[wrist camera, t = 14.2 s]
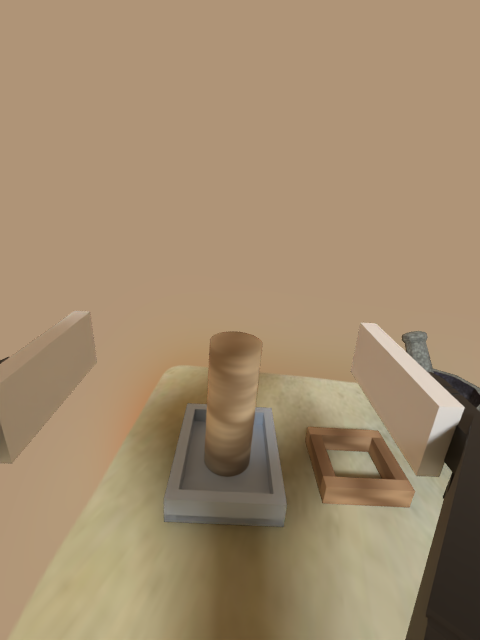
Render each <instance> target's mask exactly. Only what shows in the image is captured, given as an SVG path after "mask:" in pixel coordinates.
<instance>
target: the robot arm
mask: <svg viewBox="0 0 480 640" xmlns="http://www.w3.org/2000/svg"><path fill="white" fill-rule="evenodd" d="M96 362H97V359H96V352H95V344H94V337H93V329H92V322H91V314H90V312H89V311H87V312H86V311H73V312H72V313H70V314H69V315H68V316H66V317H65V318H63V319H62V320H61V321H59V322H58V323H57V324H55V325H54V326H53V327H51V328H50V329H48V330H47V331H45V332H44V333H43V334H41V335H40V336H38V337H37V338H36V339H34V340H33V341H32V342H30V343H29V344H27V345H26V346H25V347H23V348H22V349H20V350H19V351H18V352H16V353H15V354H13V355H12V356H11V357H7V358H5V359H3V360H0V463H13V462H14V461H15V459H16V458H17V457H18V456H19V455H20V453H21V452H22V451H23V450H24V449H25V447H26V446H27V445H28V444H29V443H30V441H31V440H32V439H33V438H34V437H35V435H36V434H37V433H38V432H39V430H41V428H42V427H43V426H44V425H45V423H46V422H47V421H48V420H49V419H50V418H51V416H52V415H53V414H54V412H56V410H57V409H58V408H59V407H60V406H61V404H62V403H63V402H64V401H65V400H66V398H67V397H68V396H69V395H70V394H71V392H72V391H73V390H74V389H75V388H76V386H77V385H78V384H79V383H80V382H81V380H82V379H83V378H84V377H85V376H86V374H87V373H88V372H89V371H90V370H91V368H92V367H93V366H94V365H95V364H96ZM351 373H352V375H353V376H354V378H355V379H356V381H357V382H358V384H359V386H360V387H361V389H362V390H363V392H364V394H365V395H366V397H367V398H368V400H369V402H370V403H371V405H372V406H373V408H374V409H375V411H376V413H377V414H378V416H379V417H380V419H381V421H382V422H383V424H384V425H385V427H386V428H387V430H388V432H389V433H390V435H391V436H392V438H393V440H394V441H395V443H396V444H397V446H398V448H399V449H400V451H401V452H402V454H403V455H404V457H405V459H406V460H407V462H408V463H409V465H410V467H411V468H412V470H413V471H414V473H415V475H416V476H433V477H439V476H440V473H441V471H442V468H443V465H444V463H446V464H447V466H448V467H449V468H450V469H451V471H452V474H451V477H450V480H449V482H448V485H447V487H446V490H445V493H444V495H443V498H444V501H443V505H442V508H441V512H440V516H439V519H438V523H437V527H436V530H435V534H434V537H433V541H432V545H431V548H430V552H429V556H428V559H427V563H426V566H425V570H424V574H423V577H422V581H421V585H420V588H419V592H418V596H417V599H416V603H415V606H414V610H413V614H412V617H411V621H410V625H409V628H408V632H407V635H406V639H405V640H480V411H479V410H478V409H477V408H476V407H474V406H473V405H472V404H471V403H470V402H469V401H468V400H467V399H466V398H465V397H463V396H462V395H460V393H459V392H458V391H457V390H456V389H454V388H453V387H452V386H451V385H450V384H449V383H448V382H447V381H446V380H445V379H443V378H441V377H440V376H438V375H436V374H434V373H432V372H427V371H426V370H425V369H424V368H423V367H421V366H420V365H419V364H418V363H417V362H416V361H415V360H414V359H413V358H412V357H411V356H410V355H409V354H408V353H407V352H406V351H405V350H404V349H402V348H401V347H400V346H399V345H398V344H397V343H396V342H395V341H394V340H393V339H392V338H391V337H390V336H389V335H388V334H386V333H385V332H384V331H383V330H382V329H381V328H380V327H379V326H378V325H377V324H376V323H360V327H359V332H358V338H357V343H356V347H355V352H354V357H353V362H352V368H351Z"/></svg>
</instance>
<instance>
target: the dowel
mask: <svg viewBox="0 0 480 640" xmlns="http://www.w3.org/2000/svg"><path fill="white" fill-rule="evenodd" d="M261 353H262V341H261V340H260V339H259V338H257V337H255V336H253V335H250V334H247V333H243V332H222V333H218V334H216V335H214V336H212V337H211V339H210V352H209V372H208V393H207V413H206V434H205V455H204V461H205V464H206V466H207V468H208V469H209V470H210V471H211V472H213V473H215V474H217V475H220V476H225V477H231V476H236V475H239V474H241V473H242V472H244V471H245V470H246V469H247V467H248V465H249V462H250V453H251V444H252V435H253V426H254V417H255V408H256V399H257V390H258V381H259V370H260V362H261Z"/></svg>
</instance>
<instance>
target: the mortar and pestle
mask: <svg viewBox="0 0 480 640" xmlns="http://www.w3.org/2000/svg"><path fill="white" fill-rule="evenodd" d="M426 340H427V334H426V333H425V332H421V331H415V332H409V333H406V334H404V335H402V341H403V342H404V343H405V347H406V352H407V353H408V354H409V355H410V356H411V357H412V358H413V359H414V360H415V361H416V362H417V363H418V364H419V365H420V366H421V367H423V368H424V369H425V370H426V371H427V372H432V373H434V374H436V375H438V376H440V377H441V378H443V379H445V380H446V381H447V382H448V383H449V384H450V385H451V386H452V387H453V388H454V389H456V390H457V391H458V392H459V393H460V395H462V396H463V397H465V398H466V399H467V400H468V401H469V402H470V403H471V404H472V405H473V406H474V407H476V408H477V409H478V410H479V411H480V388H479V387H477V386H475V385H473V384H471V383H469V382H468V381H465V380H464V379H462V378H460V377H458V376H456V375H453V374H450V373H446V372H443V371H439V370H436V369H433V368H432V364H431V360H430V356H429V353H428V349H427V345H426Z"/></svg>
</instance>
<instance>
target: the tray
mask: <svg viewBox="0 0 480 640" xmlns="http://www.w3.org/2000/svg"><path fill="white" fill-rule="evenodd" d="M206 413H207V404H192V403H187V407H186V411H185V415H184V419H183V423H182V428H181V432H180V436H179V440H178V444H177V448H176V452H175V456H174V460H173V464H172V468H171V472H170V476H169V480H168V484H167V488H166V492H165V496H164V521H165V522H187V523H209V524H231V525H254V526H276V527H284V521H285V515H286V509H287V501H286V495H285V489H284V483H283V476H282V470H281V464H280V458H279V452H278V445H277V439H276V433H275V427H274V421H273V414H272V408H262V407H256V408H255V417H254V426H253V435H252V444H251V453H250V462H249V465H248V467H247V469H246V470H245V471H244V472H242V473H241V474H239V475H236V476H231V477H225V476H220V475H217V474H215V473H213V472H211V471H210V470H209V469H208V468H207V466H206V464H205V461H204V455H205V434H206Z"/></svg>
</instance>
